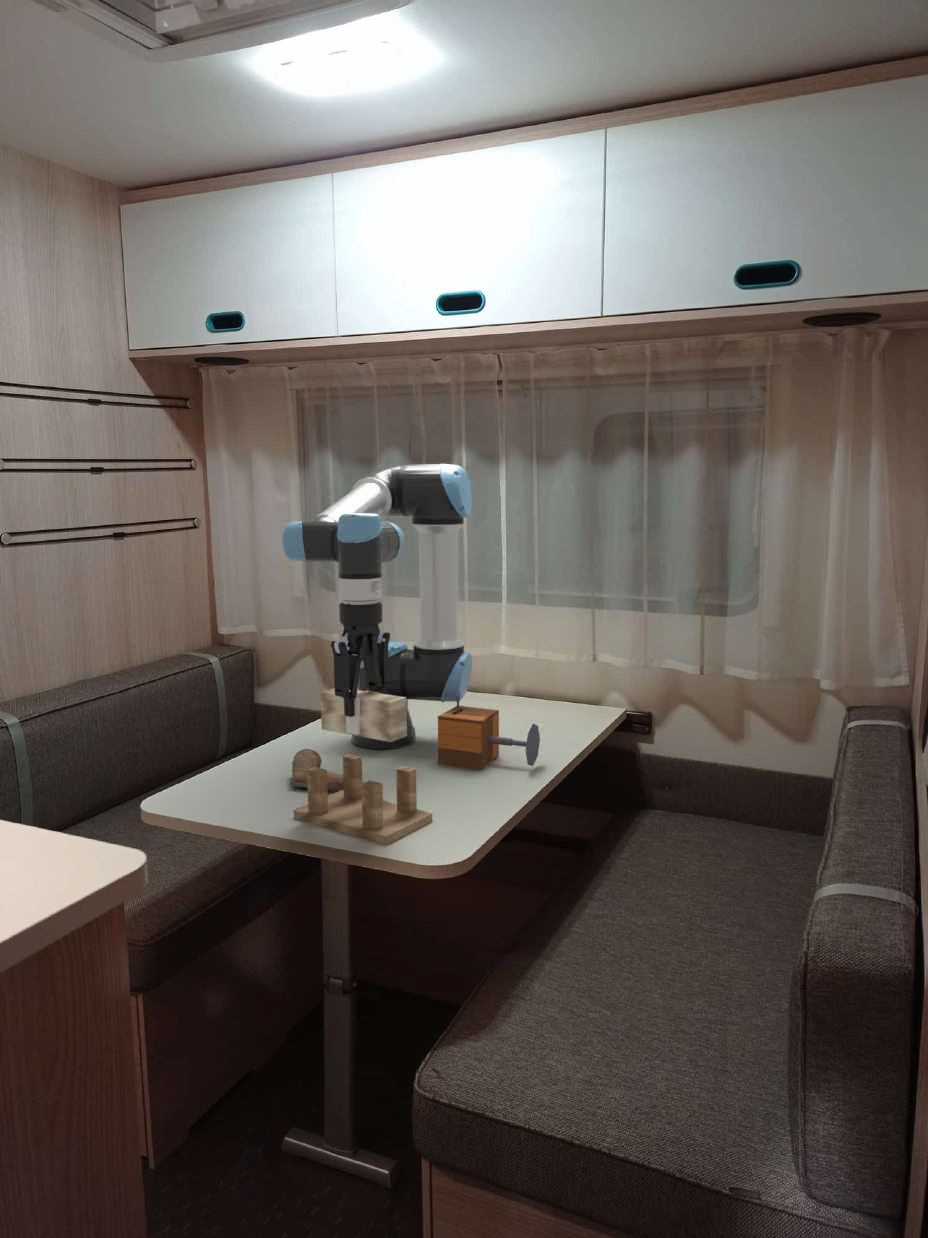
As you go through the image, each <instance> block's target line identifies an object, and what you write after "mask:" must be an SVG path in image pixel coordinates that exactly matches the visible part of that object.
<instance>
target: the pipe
mask: <svg viewBox="0 0 928 1238" xmlns="http://www.w3.org/2000/svg"><path fill="white" fill-rule="evenodd" d="M291 766H292V767H291V771H292V781H291V785H292V786H293V787H297V788H302V789H308V781H307V770H308V769H311V768H314V767H317V768H321V766H322V758H321V756H320V754H319V752H318V751H316V750H314V749H311V748H304V749H301V750H299V751H297V752H296V753H295V755H294V756H293V761H292V765H291ZM327 786H328V792H331V793H336V792H338V791H340V790H344V787H343V774H341V773H336V772H331V771H327Z"/></svg>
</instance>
